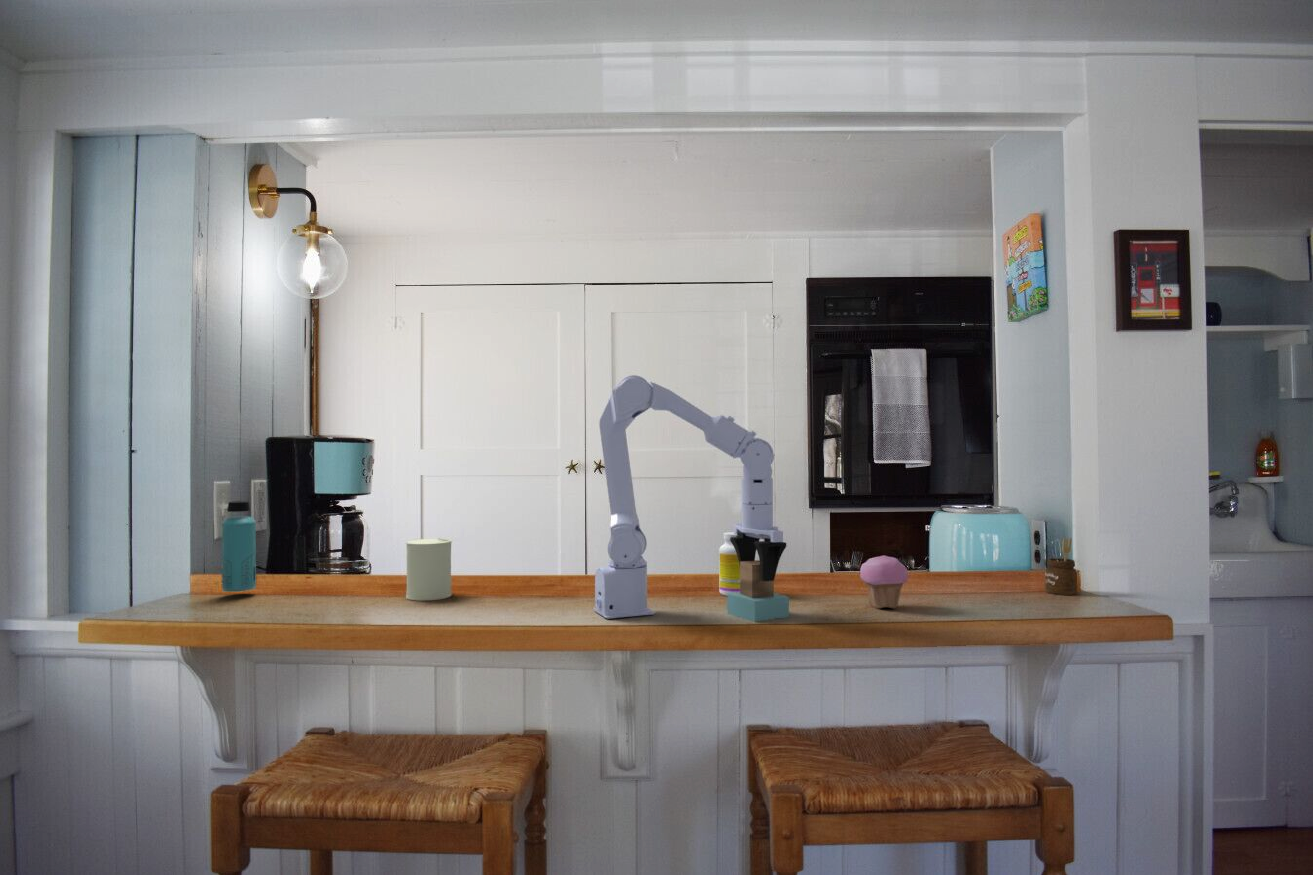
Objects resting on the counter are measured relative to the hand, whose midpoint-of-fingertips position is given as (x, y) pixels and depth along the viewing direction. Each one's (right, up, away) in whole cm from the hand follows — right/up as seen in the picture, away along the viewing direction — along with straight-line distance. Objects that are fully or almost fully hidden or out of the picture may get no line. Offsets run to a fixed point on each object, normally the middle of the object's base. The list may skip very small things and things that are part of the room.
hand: (757, 577), depth 135 cm
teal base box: (0, -7, 0) cm, 7 cm away
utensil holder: (+67, -7, +20) cm, 70 cm away
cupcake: (+25, -7, +6) cm, 27 cm away
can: (-66, -8, +18) cm, 69 cm away
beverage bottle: (-107, -8, +19) cm, 109 cm away
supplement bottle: (-2, -8, +20) cm, 21 cm away
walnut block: (0, -3, 0) cm, 3 cm away
